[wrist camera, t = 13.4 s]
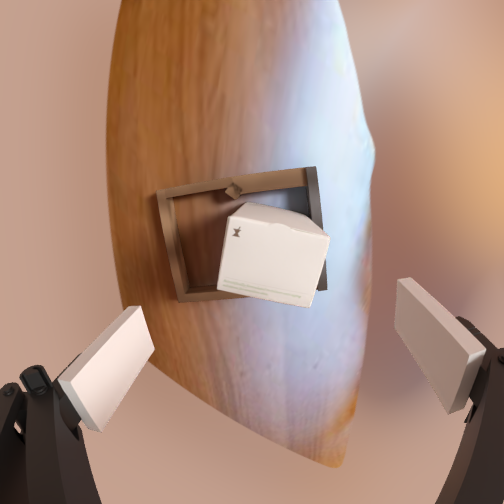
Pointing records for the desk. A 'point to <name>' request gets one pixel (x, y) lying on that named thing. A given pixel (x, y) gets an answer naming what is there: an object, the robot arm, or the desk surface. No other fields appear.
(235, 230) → the skincare box
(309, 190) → the brown wooden shallow tray
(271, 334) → the desk surface
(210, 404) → the desk surface
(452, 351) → the robot arm
